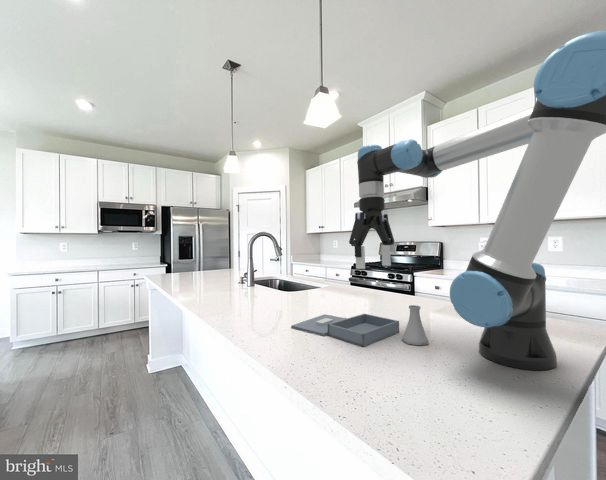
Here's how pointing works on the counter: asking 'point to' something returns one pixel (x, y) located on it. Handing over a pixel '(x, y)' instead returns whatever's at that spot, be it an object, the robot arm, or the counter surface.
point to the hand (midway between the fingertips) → (374, 267)
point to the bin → (363, 329)
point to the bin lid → (317, 324)
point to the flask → (415, 328)
